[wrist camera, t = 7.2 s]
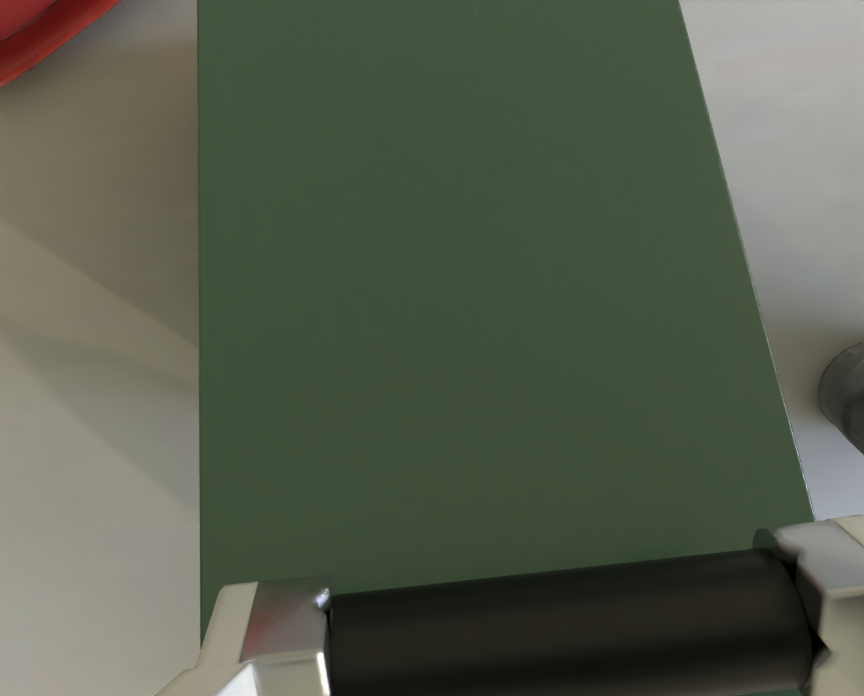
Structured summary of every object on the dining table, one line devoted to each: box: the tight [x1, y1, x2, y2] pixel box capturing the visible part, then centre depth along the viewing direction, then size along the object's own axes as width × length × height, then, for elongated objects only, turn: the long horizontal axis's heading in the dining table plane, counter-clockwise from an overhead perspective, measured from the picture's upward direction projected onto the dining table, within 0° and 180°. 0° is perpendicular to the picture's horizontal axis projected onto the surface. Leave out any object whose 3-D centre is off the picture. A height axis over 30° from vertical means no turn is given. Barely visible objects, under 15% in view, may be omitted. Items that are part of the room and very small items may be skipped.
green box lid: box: [197, 0, 816, 696], centre depth 14 cm, size 17×12×5 cm
